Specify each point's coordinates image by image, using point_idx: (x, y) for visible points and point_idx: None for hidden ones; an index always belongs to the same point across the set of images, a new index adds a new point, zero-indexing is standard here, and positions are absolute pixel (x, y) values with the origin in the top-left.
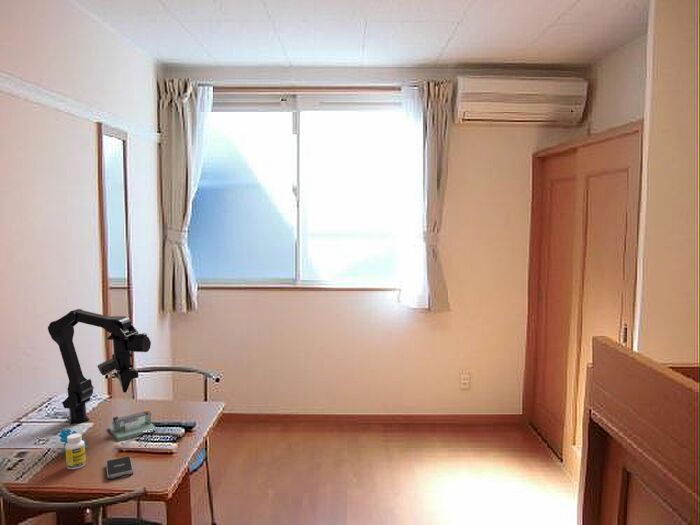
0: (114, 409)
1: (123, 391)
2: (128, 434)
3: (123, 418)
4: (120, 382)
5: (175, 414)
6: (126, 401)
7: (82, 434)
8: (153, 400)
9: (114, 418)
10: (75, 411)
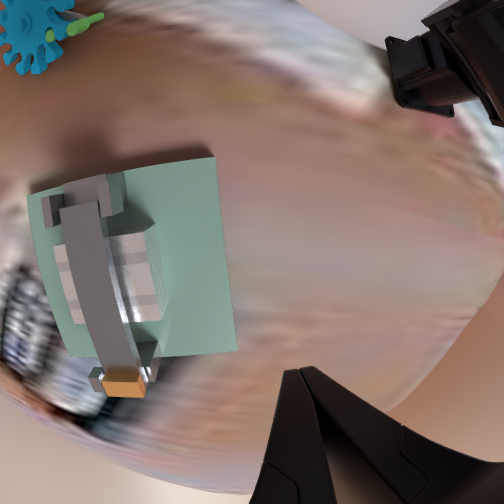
0: (453, 233)
1: (282, 380)
2: (40, 243)
3: (75, 249)
4: (370, 463)
5: (227, 430)
6: (481, 285)
7: (74, 33)
8: (427, 369)
9: (101, 191)
10: (421, 37)
